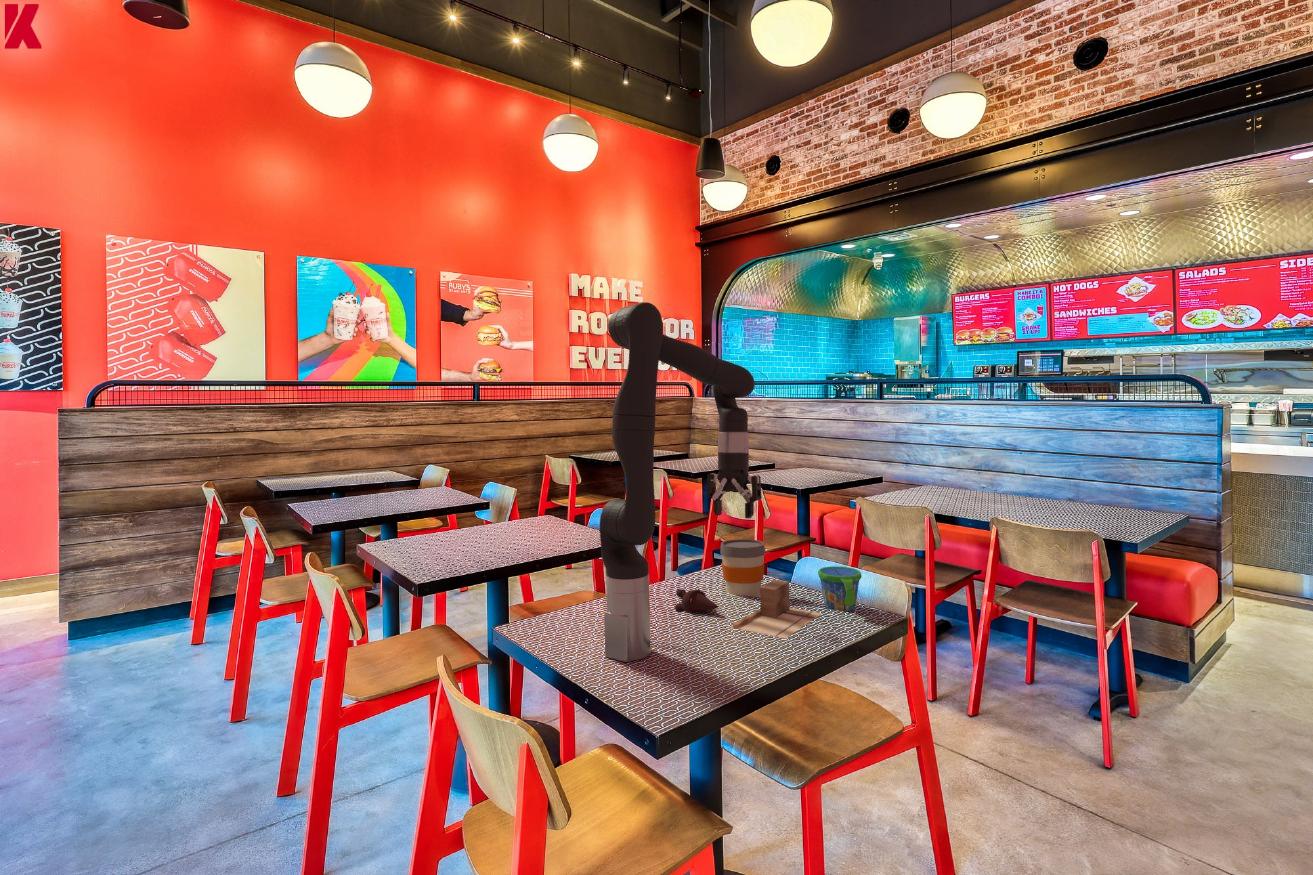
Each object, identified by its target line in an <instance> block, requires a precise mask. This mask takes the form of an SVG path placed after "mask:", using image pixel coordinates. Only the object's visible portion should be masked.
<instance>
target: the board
mask: <svg viewBox="0 0 1313 875" xmlns="http://www.w3.org/2000/svg"><path fill="white" fill-rule="evenodd" d="M822 613H823V612H822ZM822 613H821V612H815V611H812V610H811V611H810V610H805V609H798V608H794V607H793V608H792V607H790V609H789V610H787V611H786V612H784V613H783V614H781V615H780V616H778V617H777V618H772V617H766V616H761V610H760V608H759V609H757V610H755V611H754V612H752V613H750V614H749V615H747V616H745V617H743V618H741V619H740V620H737V621H736V622H734V623H732V625H731V626H730V628H732V629H735V630H742V631H745V632H751V633H757V634H759V635H766V636H771V637H775V638H781V639H785V640H786V639H788V638H789V637H790V636H791V635H793V634H794V633H796V632H797V631H799V630H800V629H802V628H803V627H805V626H806V625H808V624H809V623H810V622H812V621H813V620H815V619H817V618H818V617H819V616H820V615H822Z"/></svg>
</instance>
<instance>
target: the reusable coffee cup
mask: <svg viewBox="0 0 1313 875" xmlns="http://www.w3.org/2000/svg"><path fill="white" fill-rule="evenodd" d="M720 555H721V560H722V562H721V563H720V564H721V568H722V577H723V580H724V581H725V588H726V593H728V594H729V595H733V596H741V597H744V596H745V597H747V596H749V597H752V598H753V597H754V598H760V587H762V581H763V580H764V575H765V574H764V573H765V565H766V564H765V562H764V558H765V555H766V548H765V543H764V542H763V541H761V540H757V539H750V538H749V539H747V538H745V539H744V538H741V539H740V538H739V539H738V538H737V539H727V540H724V541H721V543H720Z"/></svg>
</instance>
